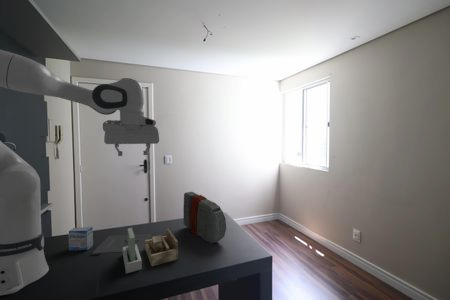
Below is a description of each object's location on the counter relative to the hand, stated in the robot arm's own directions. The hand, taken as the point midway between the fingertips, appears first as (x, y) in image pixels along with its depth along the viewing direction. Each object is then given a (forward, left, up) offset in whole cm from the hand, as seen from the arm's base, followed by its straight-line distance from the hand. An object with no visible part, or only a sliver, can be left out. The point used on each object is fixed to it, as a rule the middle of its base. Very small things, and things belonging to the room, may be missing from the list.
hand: (133, 155), depth 87 cm
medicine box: (-20, +18, -41) cm, 49 cm away
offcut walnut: (+7, -6, -38) cm, 39 cm away
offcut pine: (+7, -6, -36) cm, 37 cm away
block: (-2, -6, -41) cm, 42 cm away
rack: (+9, -6, -41) cm, 42 cm away
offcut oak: (+7, -6, -40) cm, 41 cm away
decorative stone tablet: (+31, +2, -41) cm, 52 cm away
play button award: (-3, +12, -42) cm, 44 cm away
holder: (-2, -6, -41) cm, 42 cm away
